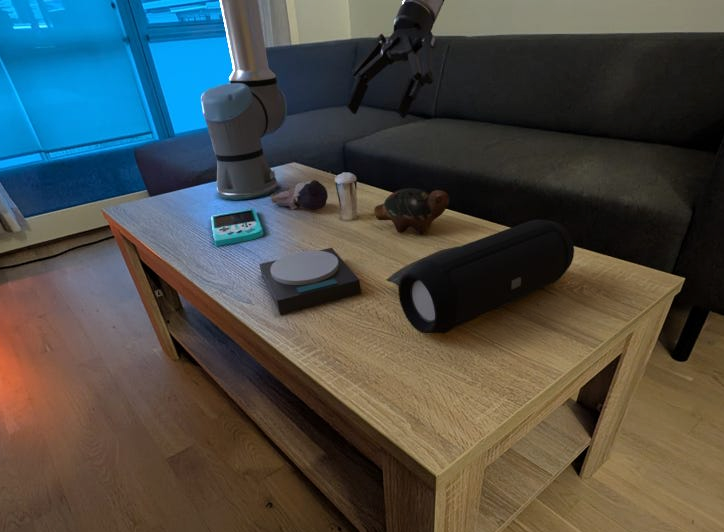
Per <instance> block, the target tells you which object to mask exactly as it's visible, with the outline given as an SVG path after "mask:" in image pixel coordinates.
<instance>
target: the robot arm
mask: <svg viewBox="0 0 724 532" xmlns="http://www.w3.org/2000/svg"><path fill="white" fill-rule="evenodd" d="M219 3H220V8H221V14H222V18H223V23H224V28H225V33H226V38H227V44H228V48H229V55H230V58H231V64H232V70H233V71H232V72H231V74H230V76H229V77H228V79H229V83H224V84H220V85H218V86H214V87H211V88H209V89H206V90H205V91H204V92H203V93H202V94H201V97H200V102H201V107H202V115H203V117H204V119H205V123H206V127H207V130H208V134H209V138H210V141H211V145H212V148H213V149H212V150H213V152H214V156H215V159H216V164H217V165H216V166H217V168H216V190H217V195H218V196H219V198H221V199H224V200H230V201H243V200H252V199H257V198H261V197H265V196H267V195H271V194H273V193H274V192H275V191H277V189H278V181H277V178H276V173H275V170H272V169H271V167H270V164H269V163H268V161H267V159H266V157H265V155H264V149H263V145H262V144H263V143H262V140H261V139H262V138H265V137H266V136H269V135H271V134H274V133H276V132H277V131H278V130H279V129H280V128H281V127H283V125H284V124H285V122H286V119H287V116H288V109H289V108H288V101H287V99H286V98H287V97H286V96H285V93H284V92H283V91H282V90H281V89H280V86H278V81H277V80H278V79H277V75H276V73H274V72H273V71H272V70H271V69H270V67H269V62H268V56H267V50H266V43H265V35H264V31H263V25H262V19H261V18H262V17H261V13H260V5H259V0H219ZM444 3H445V0H402V3H401V5H400V7H399V8H398V11H397V14H396V16H395V18H394V21H393V31H392V33H391V35H390V36H389V37H385V36H384V33H380V34H379V35H378V37H377V38H376V40H375V42H374V44H373V45H372V46H371V47H370V49H368V50H367V52H366V53H365V54H364V56H363V57H362V58H361V60H360V61H359V62H358V63H357V64H356V66H354V67H353V69H352V70H351V75H352V76H353V78H354V79H355V82H354V83H353V86H352V88H351V92H350V96H349V99H348V100H347V103H346V105H345V106H346V107H347V108H348V110H349V111H350V112H351V113H352V114H353V115H357V113H358V110H359V108H360V106H361V103H362V101H363V99H364V97H365V94H366V92H367V91H368V88H369V85H368V83H369V82H370V81H371V80H372V79H374V78H375V77H376V76H377V75H378V74H379V73H381V71H383V70H384V69H385V68H386V67H387V66H392V65H393V64H394V63H396V62H401V61H402V62H408V61H409V65H410V68H411V73H412V74H411V75H412V77H409V78H408V79H407V82H406V84H405V87H404V89H403V91H402V94H401V96H400V98H399V100H398V103H397V104H396V107H395V110H396V112H397V113H398V115H399V116H400V117H401V119H406V117H407V115H408V113H409V110H410V108H411V106H412V103H413V101H416V100H417V97H418V95H419V93H420V91H421V89H422V87H424V86H425V85H426V84H428V85H432V84H433V82H434V73H435V72H434V71H435V70H434V68H435V67H434V63H435V62H434V61H435V58H434V57H435V55H434V54H435V49H436V46H437V41H436V38H435V36H434V34H433V32H432V30H433V28H434V25H435V23H436V21H437V18H438V16H439V14H440V12H441V9H442V7H443V5H444ZM421 49H422V69H421V65H420V60H419V59H420V58H419V55H418V52H419V51H420V50H421ZM388 53H389V54H388ZM389 55H390V56H389Z"/></svg>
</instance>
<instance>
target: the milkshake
mask: <svg viewBox="0 0 724 532" xmlns="http://www.w3.org/2000/svg"><path fill="white" fill-rule="evenodd" d="M329 173H330V174H331V176H332V178H333V179H334V183H335V189H336V194H337V198H338V205H339V209H340V215H341V218H342V220H344V221H352V220H356V219H357V217H358V197H357V196H358V195H357V191H358V189H357V188H358V187H357V186H358V184H357V183H358V182H357V176H356V175H355V174H354V173H352V172H344V171H343V172H342V173H339V174H338V175H336V177H334V176H333V173H331V170H329Z"/></svg>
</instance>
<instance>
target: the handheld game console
mask: <svg viewBox="0 0 724 532" xmlns="http://www.w3.org/2000/svg"><path fill="white" fill-rule="evenodd" d="M210 220H211V229H212V235H213V236H212V237H213V238H212V240H213V242H214V244H215V247H221V246H226V245H232V244H237V243H242V242H248V241H251V240H255V239H259V238H261V237H263V236H264V230H263V226H262V224H261V221H260V219H259V216H258V214H257V211H256V209H255V208H250V209H249V208H247V209H243V210H237V211H231V212H225V213H224V212H223V213H219V214H216V215H215V214H213V215H211V216H210Z"/></svg>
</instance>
